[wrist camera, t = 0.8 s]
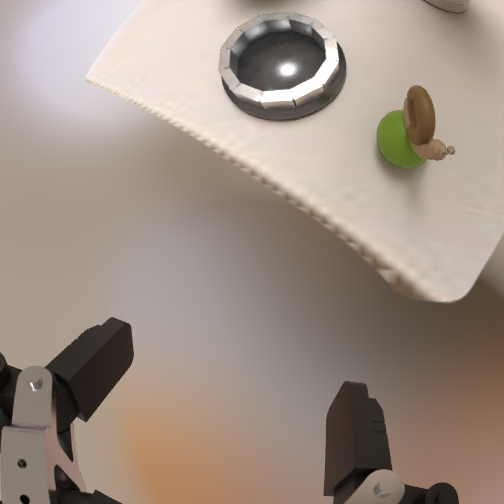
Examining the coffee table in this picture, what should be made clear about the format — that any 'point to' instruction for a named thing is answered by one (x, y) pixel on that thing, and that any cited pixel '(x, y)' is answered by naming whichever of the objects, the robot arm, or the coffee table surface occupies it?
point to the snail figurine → (411, 132)
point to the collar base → (282, 66)
